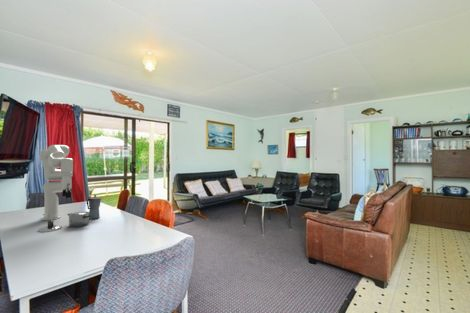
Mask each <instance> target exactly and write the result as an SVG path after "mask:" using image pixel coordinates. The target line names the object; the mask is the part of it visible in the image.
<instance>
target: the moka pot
mask: <svg viewBox="0 0 470 313" xmlns="http://www.w3.org/2000/svg"><path fill="white" fill-rule="evenodd" d="M101 201H102V197H101V196H97V194H94V196H92V197H89V198H87V200H86V206H87V210H88V212H89V215H91V217H89V220H94V219H99V218H100V217H101V216H100V206H101Z"/></svg>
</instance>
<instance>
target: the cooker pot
mask: <svg viewBox="0 0 470 313" xmlns="http://www.w3.org/2000/svg"><path fill="white" fill-rule="evenodd" d="M67 216H68V228H71V229H72V228H73V229H74V228H83V227H86V226H88V225H90V219H89V217H91V215H89V211H78V212H77V211H75V212H70V213H67Z"/></svg>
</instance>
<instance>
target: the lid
mask: <svg viewBox="0 0 470 313" xmlns="http://www.w3.org/2000/svg"><path fill="white" fill-rule="evenodd" d="M54 220H55V219H53V220H47V226H42V227H40V228H38V229H37V232H39V233H49V232H55V231H59V230H62V229H63V225H61V224H54ZM58 229H59V230H58Z"/></svg>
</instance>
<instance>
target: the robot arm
mask: <svg viewBox="0 0 470 313" xmlns="http://www.w3.org/2000/svg"><path fill="white" fill-rule="evenodd" d="M69 154H70V147H69V146H68V145H65V144H51V145H49V146H47V149H46V148H45V149H41V150H40V151H39V158H40V161H41V164H42V165H43V175H44V179H45V180H46V181H47V182H45V183H44V184H43V186H42V190H43V194H44V199H43V200H44V205H43V206H44V208H43V209H44V213H42V216H43V217H42V218H41V220H42V221H50V220H58V219H60V218H61V216H62V215H59V198H60V197H59V196H58V194H56V193H62V197H65V198H66V199H67V198H69V199H70V198H72V186H73V183H72V182H73V181H72V179H73V178H72V177H73V175H74V159H73V158H71V157H67V156H68V155H69ZM59 168H60V169H59Z"/></svg>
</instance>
